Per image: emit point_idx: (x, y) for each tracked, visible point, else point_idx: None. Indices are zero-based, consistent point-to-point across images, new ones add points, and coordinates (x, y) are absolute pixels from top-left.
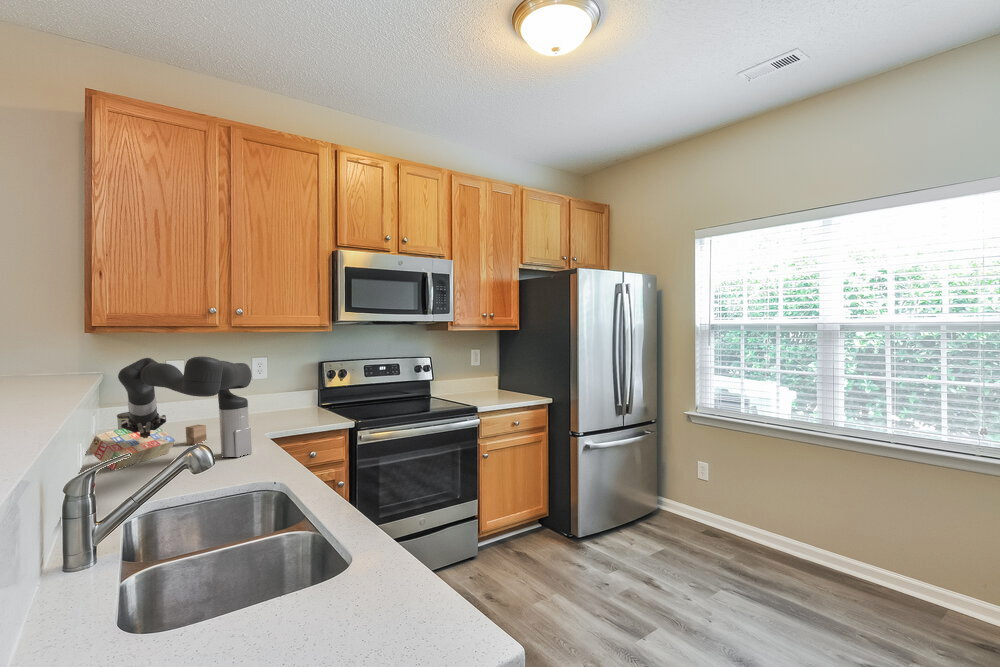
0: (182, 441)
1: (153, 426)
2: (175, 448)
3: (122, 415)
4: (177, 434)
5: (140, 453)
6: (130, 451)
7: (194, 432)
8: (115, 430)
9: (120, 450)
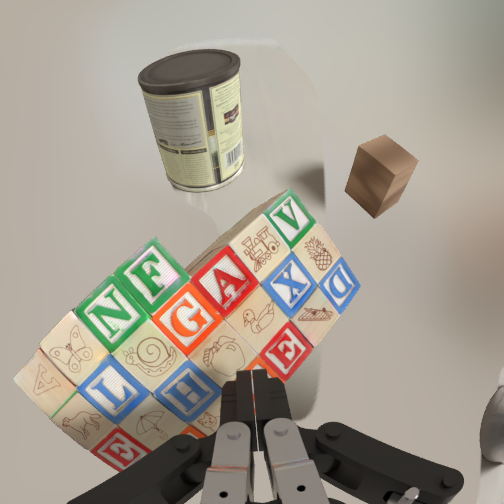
0: (321, 153)
1: (328, 469)
2: (323, 224)
3: (150, 81)
4: (289, 96)
5: None
6: None
7: (390, 186)
8: (82, 305)
9: None
